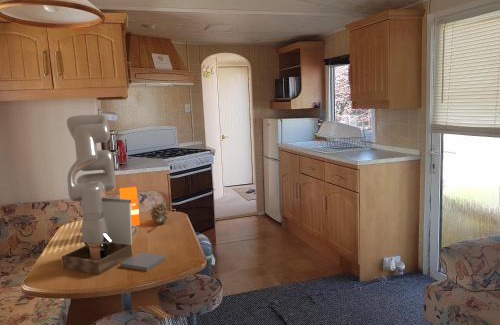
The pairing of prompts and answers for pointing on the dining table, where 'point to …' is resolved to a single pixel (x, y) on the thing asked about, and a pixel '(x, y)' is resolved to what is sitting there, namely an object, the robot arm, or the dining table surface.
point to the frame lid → (118, 219)
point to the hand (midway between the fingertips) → (98, 257)
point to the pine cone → (159, 213)
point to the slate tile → (143, 261)
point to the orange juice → (131, 195)
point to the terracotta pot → (95, 251)
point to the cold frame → (79, 262)
